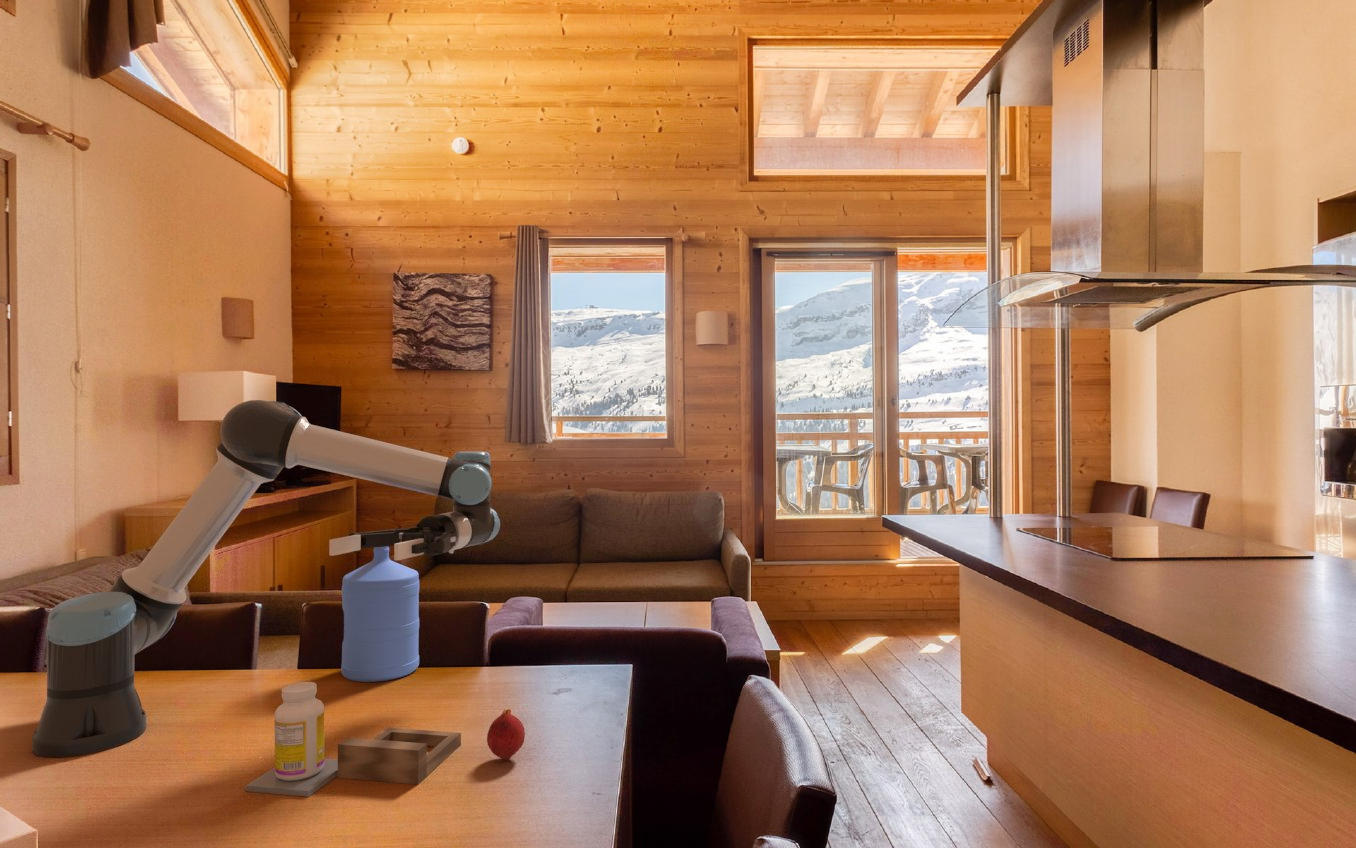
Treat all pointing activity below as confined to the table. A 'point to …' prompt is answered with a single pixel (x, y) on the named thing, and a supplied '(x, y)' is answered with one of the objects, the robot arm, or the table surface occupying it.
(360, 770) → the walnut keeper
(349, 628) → the water jug
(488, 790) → the table surface
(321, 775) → the slate coaster
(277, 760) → the supplement bottle
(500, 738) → the onion
